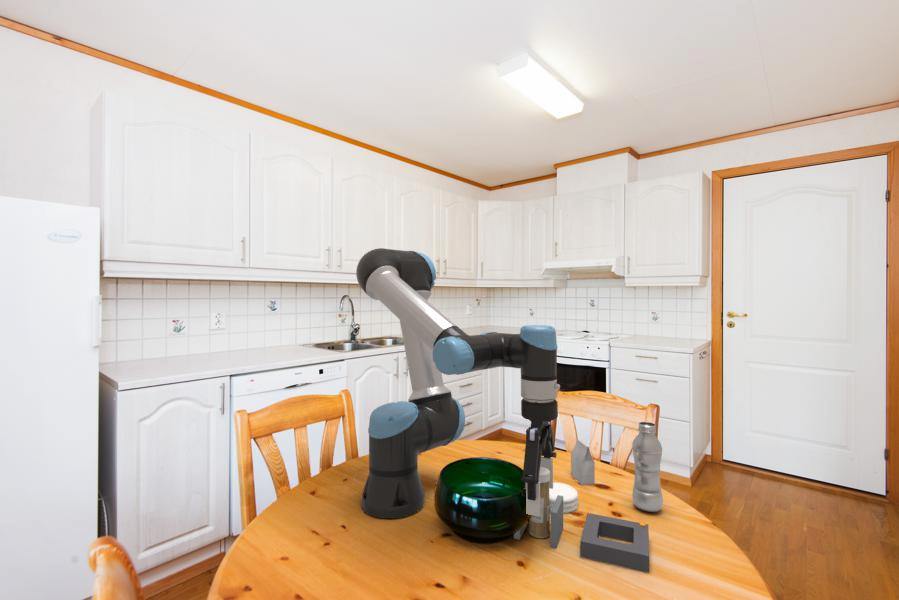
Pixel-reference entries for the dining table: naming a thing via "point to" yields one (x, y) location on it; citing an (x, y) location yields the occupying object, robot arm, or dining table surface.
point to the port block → (614, 550)
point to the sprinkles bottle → (542, 508)
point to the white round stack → (564, 496)
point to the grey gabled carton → (582, 464)
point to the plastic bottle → (647, 469)
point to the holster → (555, 523)
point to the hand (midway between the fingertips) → (540, 500)
